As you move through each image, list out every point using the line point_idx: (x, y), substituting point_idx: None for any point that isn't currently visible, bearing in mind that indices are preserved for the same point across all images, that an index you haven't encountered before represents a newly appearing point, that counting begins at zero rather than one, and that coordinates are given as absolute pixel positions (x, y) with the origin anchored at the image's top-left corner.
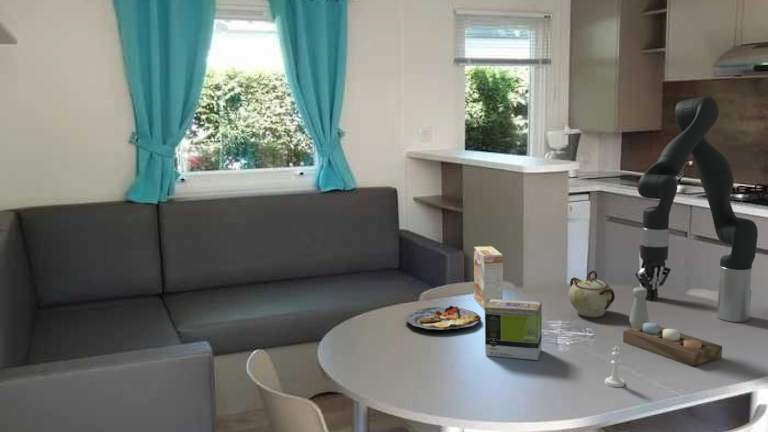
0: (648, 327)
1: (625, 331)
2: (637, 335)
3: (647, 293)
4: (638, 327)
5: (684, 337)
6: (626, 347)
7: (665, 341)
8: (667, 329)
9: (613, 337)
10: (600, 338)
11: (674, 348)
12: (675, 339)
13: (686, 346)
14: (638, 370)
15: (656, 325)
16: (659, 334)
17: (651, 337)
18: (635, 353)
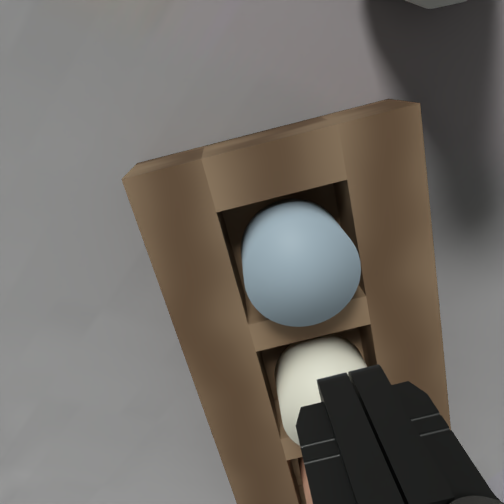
0: (253, 304)
1: (128, 198)
2: (162, 291)
3: (309, 480)
4: (271, 154)
5: None
6: (107, 250)
7: (254, 417)
8: None
9: (121, 61)
10: (19, 46)
11: (233, 492)
12: None
13: (304, 491)
14: (11, 493)
15: (330, 295)
16: None
17: (222, 348)
18: (106, 336)
